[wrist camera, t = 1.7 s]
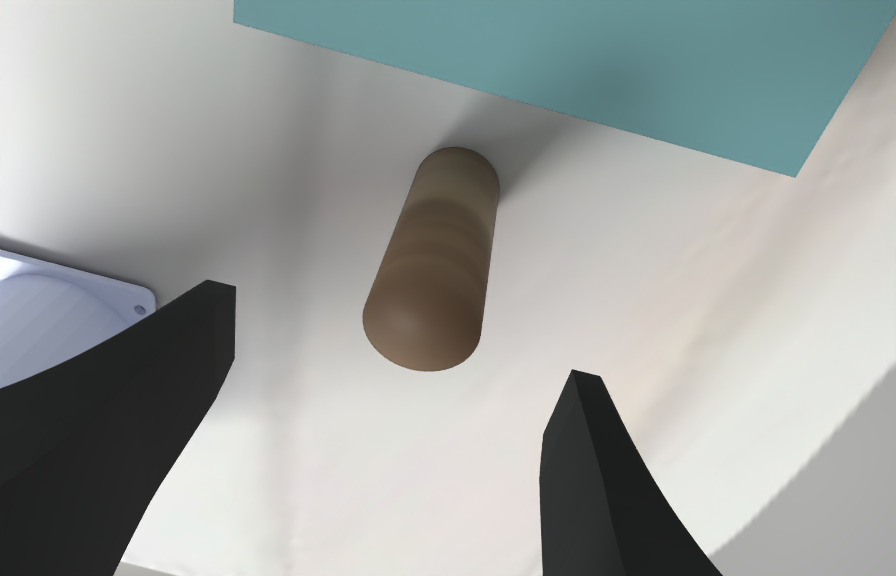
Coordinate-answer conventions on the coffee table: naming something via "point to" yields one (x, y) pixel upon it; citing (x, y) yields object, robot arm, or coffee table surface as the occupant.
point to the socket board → (622, 59)
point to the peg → (436, 265)
